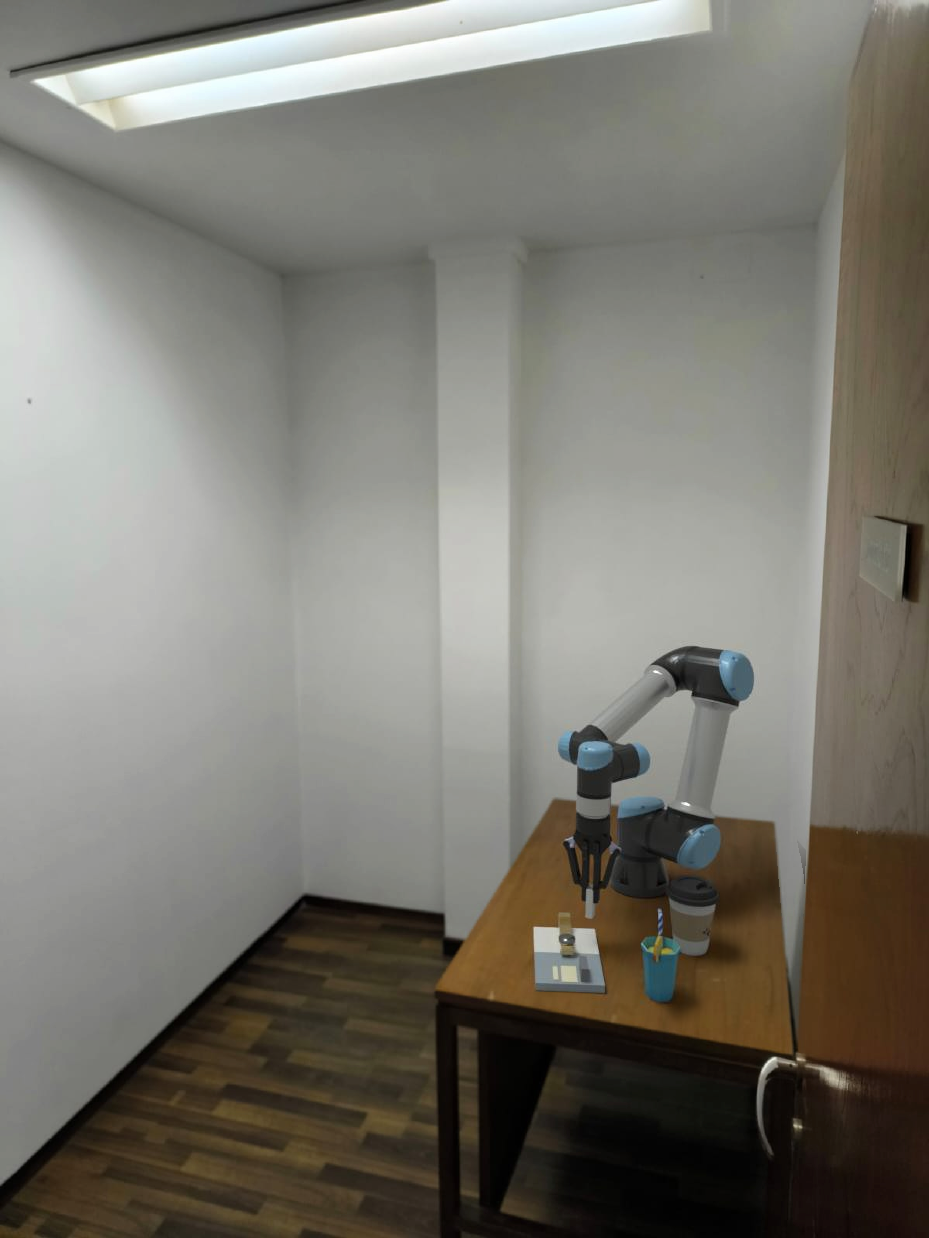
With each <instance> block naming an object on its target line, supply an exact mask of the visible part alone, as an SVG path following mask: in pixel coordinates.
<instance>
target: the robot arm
mask: <svg viewBox="0 0 929 1238" xmlns="http://www.w3.org/2000/svg"><path fill="white" fill-rule="evenodd" d="M643 673H644V674H643V675H642V677H639V679H638V680H637V681H636V682H634V684H632V685H631V686H630V687H629V688H628V689H627V690H626V691H624V692H623V693H622V694H621V695H620V696H619V697H618V698H616V699H615V700H614V701H613V702H612V703H611V704H610V705H608V706H607V707H606V708H605V709H604V710H603V711H601V713H599V714H598V715H597V716H596V717H595V718H594V719H592V720H591V721H590V722H589V723H588V724H587V725H585V727H584V728H582V729H581V730H580V731H577V730H568V731H565V732H564V733H562V735H561V736H560V738H559V739H558V743H557V752H558V754H559V757H560V758H561V759H562V760H564V761H566V762H568V763H570V764H572V765H574V766H577V767H576V768H577V769H576V773H577V774H576V798H575V799H576V800H575V801H576V802H575V811H576V814H575V831H574V833H573V835H572V836H571V837H567V838H565V839H564V841H563V843H562V846H563V847H564V850H565V851H566V853H567V857H568V862H569V866H570V872H571V876H572V877H571V878H572V881H573V884H575V885H578V886H580V887H581V897H580V898H581V901H582V902H584V903H585V918H586V919H590V920H591V919H593V918H594V916H595V912H596V904H598V903H599V901H600V899H601V890H602V889H603V890H606V889H607V887H608V885H610V887H611V888H612V889H613V890H614V891H616V892H618V893H620V894H623V895H626V896H629V897H634V898H646V899H647V898H657V897H660V896H663V895H664V894H666V891H667V887H668V885H669V884H670V883H669V882H670V881H669V880H670V879H669V876H668V872H667V869H666V866H665V863H664V860H666V861H670V862H673V863H674V864H677V865H678V866H680V867H682V868H683V867H684V868H688V869H691V870H695V871H698V870H703V869H705V868H706V867H707V866H709V865H710V863H712V862H713V860H714V859H715V858H716V856H717V854H718V851H719V849H720V848H721V847H720V846H721V843H722V841H721V840H722V835H721V832H720V829H719V827H717V826H716V825H715V821H716V816H715V814H714V812H713V811H712V809H711V807H712V804H713V803H712V802H713V798H714V794H715V789H716V784H717V781H718V774H719V769H720V764H721V761H722V760H721V759H722V755H723V751H724V747H725V740H726V737H727V734H728V733H727V732H728V727H729V723H730V717H731V714H732V713H733V712H735V711H736V710H738V709H739V706H740V702H742V701H746V700H747V699H749V698H750V695H751V694H752V692H753V690H754V685H755V672H754V668H753V666H752V663H751V661H750V659H749V658H748V657H747V656H746V655H745V654H743V653H741V652H737V651H732V650H728V649H719V648H710V647H703V646H696V645H686V646H682V647H678V648H676V649H673V650H671V651H669V652H667V653H665V654H663V655H662V656H660V657H659V658H657V659H656V660H654V661H653V662H652V663H651V664H649V665H648V666H647V667H646V668H645V669H644V672H643ZM680 691H689V692H691V694H690V699H691V700H692V702H693V703H694V710H693V711H694V712H693V715H692V719H691V724H690V729H689V735H688V740H687V743H686V748H685V753H684V758H683V760H682V761H683V763H682V766H681V771H680V776H679V780H678V786H677V790H676V795H675V799H674V800H672V801H671V802H669V803H667V806H666V804H665V802H664V800H663V799H662V798H660V797H654V796H634V797H629V798H625V799H623V800H622V801H621V802H619V805H618V810H617V811H618V812H617V816H616V819H617V820H616V821H617V823H616V824H617V825H616V826H617V827H616V829H617V830H616V831H617V833H616V834H617V835H616V836H617V837H616V839H617V843H615V842H613V838H612V836H611V815H610V814H611V813H612V810H611V809H612V785H613V784H614V783H617V782H622V781H625V780H630V779H636V778H638V777H639V776H642V775H645V774H646V773H647V772H648V771H649V769H650V768H651V767H650V766H651V755H650V752H649V751H648V749H647V748H646V747H645V746H644V744H641V743H638V742H632V743H631V742H628V743H626V744H623V743H619V742H618V740H619V739H621V738H622V736H623V737H624V735H625V734H626V733H628V732H629V730H631V728H633V727H634V726H635V725H636V724H637V723H638V722H639V721H640V720H641V719H642V718H644V717H645V716H646V715H647V714H648V713H649V712H651V711H652V709H653V708H655V707H656V706H657V705H658V704H659V703H660V702H661V701H663V699H665V698H670V697H673V696H674V695H675V694H676V693H677V692H680ZM665 806H666V809H665ZM576 846H577V847H578V848H579V850H580V851H581V859H582V860H581V870H580V864H579V860H578V856H577V851H576V850H577V849H576ZM608 848H609V851H608V852H609V854H610V856H609V858H608V861H607V865H606V868H605V871H604V874H603V878H602V856H603V854H604V853H605V852H606V850H607V849H608ZM591 855H592V856H593V857H592V858H593V859H592V861H593V873H592V874H593V876H592V884H590V881H591V880H590V870H591V869H590V865H591V864H590V863H591ZM601 879H602V880H601Z"/></svg>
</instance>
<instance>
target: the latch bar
mask: <svg viewBox="0 0 929 1238" xmlns="http://www.w3.org/2000/svg"><path fill="white" fill-rule="evenodd" d="M557 916H558V923H557V924H558V925H557V926H558V928H559V943H560V947H561V955H573V950H574V946H573V944H575V936H573V935H572V930H571V928H572V924H571V923H572V922H571V913H570V912H561V911H560V912H558V915H557Z"/></svg>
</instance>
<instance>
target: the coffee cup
mask: <svg viewBox="0 0 929 1238" xmlns="http://www.w3.org/2000/svg"><path fill="white" fill-rule="evenodd" d="M665 894H666V895H667V897H668V901H669V902H668V903H669V911H670V922H671V930H672V931H671V932H672V939H673V940H674V941H675V942H676V943H677V944H678V945H679V946H680V947H681V949H680V953H681V954H683V955H686V956H691V957H692V956H693V957H699V956H704V955H705V954H706V953H707V951H708V949H709V945H710V938H711V934H712V933H711V932H712V927H713V921H714V916H715V911H716V904H718V902H719V901H720V897H719V895H720V894H719V891H718V890H717V888H716V887H715V885H714V883H713V882H712V881H711V880H709V879H707V878H705V877H702V876H698V875H692V874H685V875H678V876H676V877H674V878H672V879H671V882H670V883H669V885H668V887H667V891H666V893H665Z"/></svg>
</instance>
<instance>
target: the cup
mask: <svg viewBox="0 0 929 1238" xmlns="http://www.w3.org/2000/svg"><path fill="white" fill-rule="evenodd" d="M657 915H658V919H657V920H658V922H657V923H658V925H657V926H658V927H657V928H658V930H657V931H658V932H657V933H658V934H657V935H653V936H646V937H645V938H644V940H643V941H642V942H641V943H640V949H641V950H642V958H643V971H644V973H643V975H644V988H645V994H646V996H647V997H648V998H649V999H648V1000H652V1001H655V1002H657V1003H667V1002H670V1001H671V1000H672V999H673V997H674V990H675V982H676V977H677V975H676V974H677V967H678V959H679V954H680V953H681V952H680V949H681V947H680V946H679V945H678V944H677V943H676V942H675V941H674V940H673V938H669V937H666V936H663V926H664V925H663V922H664V920H663V918H664V916H663V910H662V909H661V908H658V909H657Z"/></svg>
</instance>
